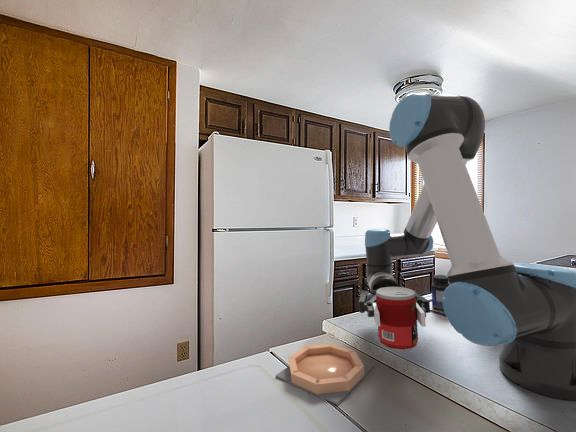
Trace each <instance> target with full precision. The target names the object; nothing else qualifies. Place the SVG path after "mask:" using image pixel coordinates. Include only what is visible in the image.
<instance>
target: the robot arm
mask: <svg viewBox="0 0 576 432" xmlns="http://www.w3.org/2000/svg"><path fill="white" fill-rule="evenodd" d="M485 130H486V118H485V114H484V110H483V109H482V107H481V105H480V104H479V103H478V102H477V101H476V100H475V99H473V98H472V97H469V96H466V95H461V94H457V95H456V94H455V95H454V94H453V95H452V94H441V93H429V92H426V91H424V92H420V93H419V92H417V93H416V92H414V93H409V94H407V95H406V96H404V97H402V98H401V99H400V101H399V102H397V105H396V106H395V108H394V109H393V112H392V114H391V118H390V121H389V129H388V131H389V137H390V138H389V139H390V141H392V143H393V144H394V145H395V146H398V147H399V148H405V151H406V155H407V158H408V159H409V161H410V162H413V163H416V164H417V165H418V167H419V172H420V174H421V177H422V180H423V186H422V187H421V190H420V193H419V195H418V198H417V200H416V202H415V205H414V206H413V209H412V211H411V214H410V216H409V218H408V221H407V224H406V226H405V228H404V229H403V232H399V233H391V231H390V229H389V228H371V229H368V230H366V231H365V233H364V234H365V235H364V246H365V255H366V256H365V257H366V275H365V277H366V283H367V285H368V288H369V290H370V292H369V291H366V290H364V289H362V290H360V293H359V294H360V297H359V299H358V310H359V311H358V312H359V313H360V314H364V313H365V312H367V317H368V318H373V320H374V323H375V326H376V327H378V326H380V315H379V311H378V308H377V303H376V291H377V290H378V289H380V288H384V287H401V286H400V284H399V283H398V282H397V280H396V279H395V278H394V276H393V259H396V258H397V259H398V258H403V257H404V258H407V257H413V256H421V255H425V254H428V253H430V252H431V251H432V249H433V248H434V238H433V236H432V233H433V231H434V229H435V227H436V225H438V227H439V228H438V229H439V231H440V233H441V237H442V239H443V243H444V246H445V249H446V252H447V254H448V259H449V261H450V263H451V267H450V269H449V270H448V272H447V274H446V276H447V278H448V283H449V286H448V287H447V288H446V289H445V291H444V293H443V294H444V297H442V305H443V309H444V311H443V312H444V314H445V316H446V319H447V320H448V322H449V323H450V325H451V326H452V327H453V329H454V330H455V331H456V332H457V333H458V334H461V335H462V336H463V338H465V339H466V340H467V341H469V342H470V343H473V344H475V345H478V346H484V347H492V346H499V345H502V348H501V350H500V352H499V357H498V358H499V361H498V364H499V369H501V370H500V372H501V373H502V372H503V373H504V374H505V375H506V376H507V377H508V378H507V377H506V376H505V375H504V374H503V373H502V374H503V375H504V376H505V377H506V378H507V379H509V380H510V381H512V382H513V383H515V384H516V383H517V385H518V384H519V385H518V386H520V385H521V386H520V387H522V386H523V388H524V387H525V388H524V389H527V390H529V391H532V392H534V393H537V394H539V393H540V395H543V396H547V397H550V398H556V399H560V400H566V401H567V400H569V401H576V271H575V270H571V269H568V268H563V267H558V266H551V265H545V264H537V263H526V262H525V263H524V262H512V261H510V260H508V259H506V258H504V257H503V256H501V254H500V251H499V249H498V248H499V247H498V246H497V244H496V241H495V238H494V236H493V232H492V231H491V228H490V225H489V223H488V220H487V218H486V215H485V212H484V210H483V207H482V204H481V202H480V199H479V197H478V195H477V191H476V189H475V186H474V184H473V181H472V179H471V176H470V173H469V170H468V168H467V164H468V162H469V161H472V160H474V159H475V158H476V155H477V153H478V151H479V149H480V147H481V145H482V143H483V139H484V135H485ZM412 290H413V291H414V292H415V295H416V311H417V323H419V325H420V326H421V327H422V328H423V327H425V328H426V327H427V326H426V317H427V314H429V313H431V305H430V304H431V303H430V300H428V299H427V298H425V297H424V296H422V295H421V294H419V293H418V292H417V291H416V289H412Z"/></svg>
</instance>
